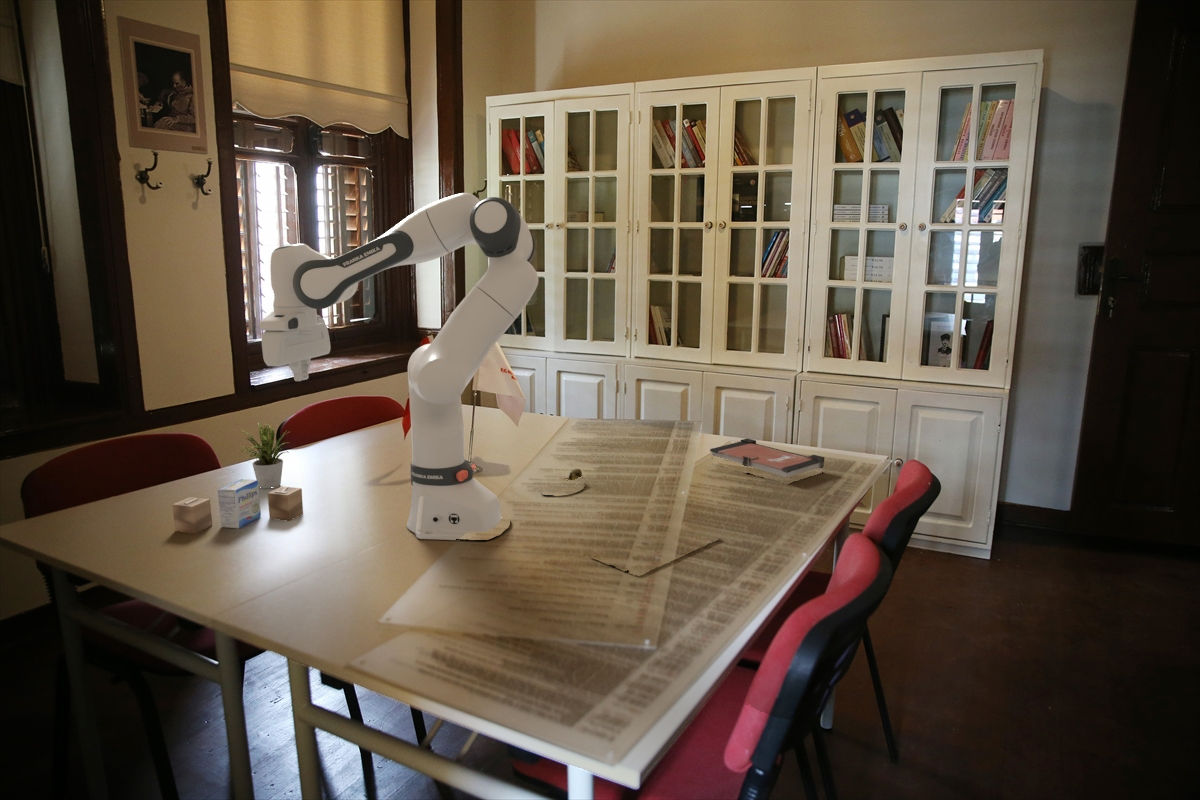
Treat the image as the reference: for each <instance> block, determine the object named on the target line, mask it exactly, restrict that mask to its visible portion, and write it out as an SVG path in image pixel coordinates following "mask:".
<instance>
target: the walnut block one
mask: <svg viewBox="0 0 1200 800" xmlns="http://www.w3.org/2000/svg"><path fill="white" fill-rule="evenodd" d="M172 514H173V523H174V531H175V532H177V531H180V532H179V533H185V532H187V534H193V533H194V535H196V534H198V533H200V532H202V531H204V530H206V529H209V528H210V526H211V527H212V526H213V518H212V517H213V516H212V507H211V499H210V498H202V497H193V496H189V497H187V498H184V499H182V500H180V501H177V502H175V503H172ZM195 533H196V534H195Z"/></svg>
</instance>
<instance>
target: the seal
mask: <svg viewBox="0 0 1200 800" xmlns="http://www.w3.org/2000/svg"><path fill="white" fill-rule="evenodd" d="M568 475H569V476H568V477H567V478H566V477H565V479H568V480H575V479H577V478H578V477H581V476H582V477H583V472H582V470H581V469H580V468H575V469H573V470H571V471H570V472H569V474H568ZM565 479H564V480H565ZM568 480H567V481H568Z"/></svg>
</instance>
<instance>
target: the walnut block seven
mask: <svg viewBox="0 0 1200 800" xmlns="http://www.w3.org/2000/svg"><path fill="white" fill-rule="evenodd" d="M302 490H303V489H302V488H299V487H293V486H292V487H291V486H279V487H277V488H275V489H273V490H271V491H269V492H267V499H268V514H269V516H268V517H269V519H270V518H271V519H270V520H275V519H280V520H279V521H284V520H287V521H286V522H290V521H293V520H294V519H296V518H298V517H300V516H302V515H303V514H304V506H303V491H302ZM301 514H302V515H301ZM299 515H300V516H299ZM297 516H298V517H297ZM293 518H294V519H293Z"/></svg>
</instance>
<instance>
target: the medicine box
mask: <svg viewBox="0 0 1200 800" xmlns="http://www.w3.org/2000/svg"><path fill="white" fill-rule="evenodd" d="M217 497H218V507H219V519H220V526H221V528H226V529H238V530H239V528H240V529H241V528H243V527H245V526H247V525H248V523H249V524H250V523H252V522H254V521H255V519H256V520H257V519H259V518H261V517H262V515H261V513H262V512H261V501H260V500H261V499H260V488H259V486H258V481H257V480H256V479H249V478H248V479H247V478H244V479H239V480H236V481H235V482H232V483H230V484H228V485H226V486H223V487H222V488H219V489H217ZM253 520H254V521H253ZM246 524H247V525H246ZM244 525H245V526H244Z"/></svg>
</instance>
